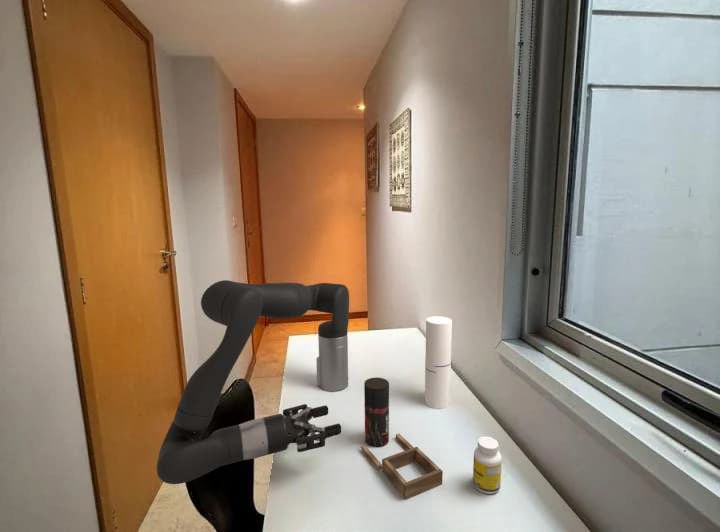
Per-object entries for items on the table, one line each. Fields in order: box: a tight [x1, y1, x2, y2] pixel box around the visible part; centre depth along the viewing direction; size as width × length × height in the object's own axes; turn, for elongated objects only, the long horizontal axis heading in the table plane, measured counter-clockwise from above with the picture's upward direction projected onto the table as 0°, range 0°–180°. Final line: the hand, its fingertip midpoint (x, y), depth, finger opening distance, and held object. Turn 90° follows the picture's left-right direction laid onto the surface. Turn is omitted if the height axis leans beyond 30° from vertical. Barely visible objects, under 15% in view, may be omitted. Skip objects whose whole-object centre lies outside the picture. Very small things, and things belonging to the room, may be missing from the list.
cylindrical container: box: [424, 315, 453, 410], centre depth 110 cm, size 7×7×25 cm
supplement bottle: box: [472, 436, 503, 495], centre depth 78 cm, size 5×5×10 cm
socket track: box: [360, 433, 444, 500], centre depth 85 cm, size 18×11×3 cm, turn 27°
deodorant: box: [363, 377, 390, 448], centre depth 93 cm, size 6×6×15 cm
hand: (333, 418), depth 88 cm, fingers open, 8 cm apart
